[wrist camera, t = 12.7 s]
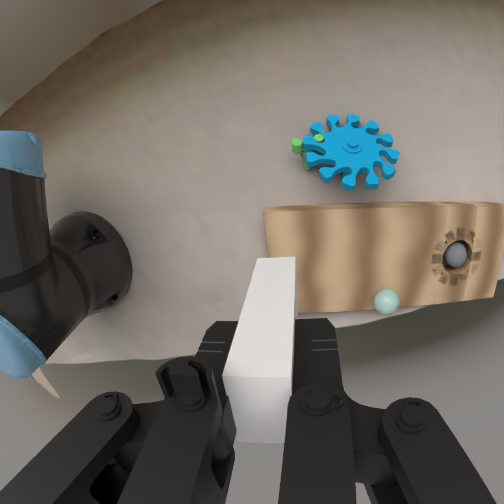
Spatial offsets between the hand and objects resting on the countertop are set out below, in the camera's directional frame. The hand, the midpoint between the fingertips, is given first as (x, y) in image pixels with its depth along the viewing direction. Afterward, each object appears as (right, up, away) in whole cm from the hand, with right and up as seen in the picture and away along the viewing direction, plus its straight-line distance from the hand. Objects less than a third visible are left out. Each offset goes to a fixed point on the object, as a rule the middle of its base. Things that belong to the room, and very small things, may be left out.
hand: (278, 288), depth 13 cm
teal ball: (+15, -4, +22) cm, 27 cm away
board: (+17, +1, +24) cm, 29 cm away
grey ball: (+25, +1, +21) cm, 32 cm away
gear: (+9, +13, +20) cm, 26 cm away
